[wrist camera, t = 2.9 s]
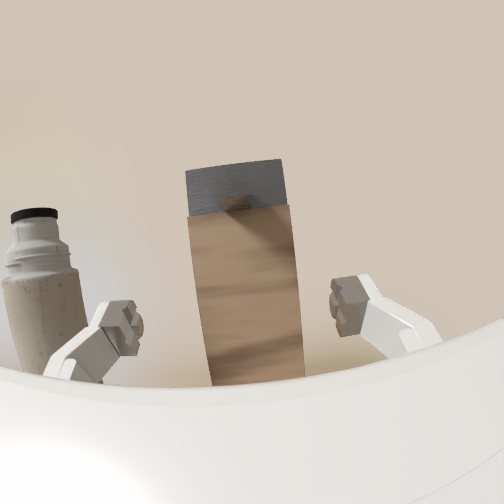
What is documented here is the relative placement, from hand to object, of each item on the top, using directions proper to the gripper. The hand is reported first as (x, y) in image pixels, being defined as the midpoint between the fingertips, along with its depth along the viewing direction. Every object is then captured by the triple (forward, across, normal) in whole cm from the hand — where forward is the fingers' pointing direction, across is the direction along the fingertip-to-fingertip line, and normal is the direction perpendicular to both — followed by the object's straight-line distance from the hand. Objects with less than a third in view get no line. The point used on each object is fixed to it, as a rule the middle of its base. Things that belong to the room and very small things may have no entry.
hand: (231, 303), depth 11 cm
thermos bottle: (-3, +18, +22) cm, 28 cm away
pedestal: (+6, 0, +27) cm, 28 cm away
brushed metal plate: (+15, 0, +2) cm, 15 cm away
